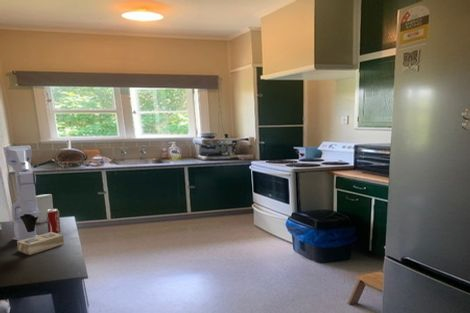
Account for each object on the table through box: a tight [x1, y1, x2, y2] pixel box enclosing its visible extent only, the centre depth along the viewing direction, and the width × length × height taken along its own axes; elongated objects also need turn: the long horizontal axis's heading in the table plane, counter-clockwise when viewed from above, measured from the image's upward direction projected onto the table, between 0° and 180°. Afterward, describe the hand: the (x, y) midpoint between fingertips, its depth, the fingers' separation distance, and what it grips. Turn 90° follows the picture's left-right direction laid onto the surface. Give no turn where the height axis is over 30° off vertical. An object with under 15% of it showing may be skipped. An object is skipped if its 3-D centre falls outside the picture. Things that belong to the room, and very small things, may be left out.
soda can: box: [46, 208, 61, 234], centre depth 153 cm, size 5×5×12 cm
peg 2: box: [43, 234, 55, 238], centre depth 138 cm, size 4×4×4 cm
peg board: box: [16, 232, 65, 256], centre depth 135 cm, size 10×14×4 cm
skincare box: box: [36, 193, 54, 224], centre depth 177 cm, size 8×6×15 cm
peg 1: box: [25, 238, 38, 243], centre depth 132 cm, size 4×4×4 cm
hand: (30, 231), depth 131 cm, fingers closed
